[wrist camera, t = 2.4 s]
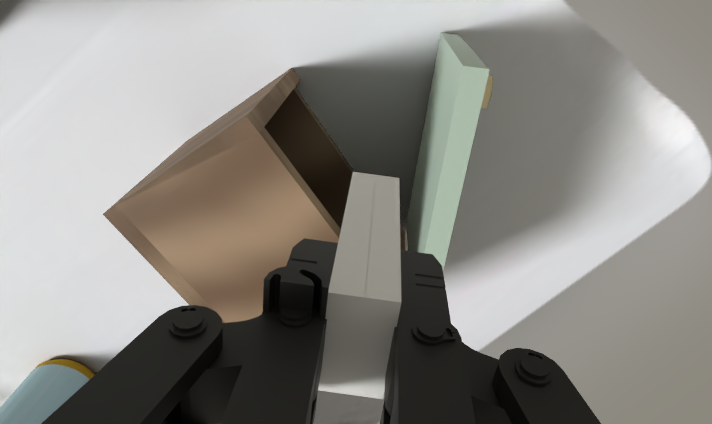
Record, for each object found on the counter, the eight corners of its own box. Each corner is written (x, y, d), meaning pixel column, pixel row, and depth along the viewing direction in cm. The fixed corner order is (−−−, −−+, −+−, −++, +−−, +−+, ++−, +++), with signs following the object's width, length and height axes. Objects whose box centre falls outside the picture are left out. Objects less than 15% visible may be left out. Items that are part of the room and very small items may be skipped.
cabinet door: (440, 32, 33) (463, 65, 22) (477, 37, 33) (516, 72, 22) (404, 231, 39) (408, 328, 29) (434, 235, 39) (449, 333, 29)
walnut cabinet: (185, 141, 37) (103, 214, 27) (291, 67, 34) (246, 116, 24) (303, 284, 43) (273, 393, 32) (404, 230, 40) (408, 330, 29)
